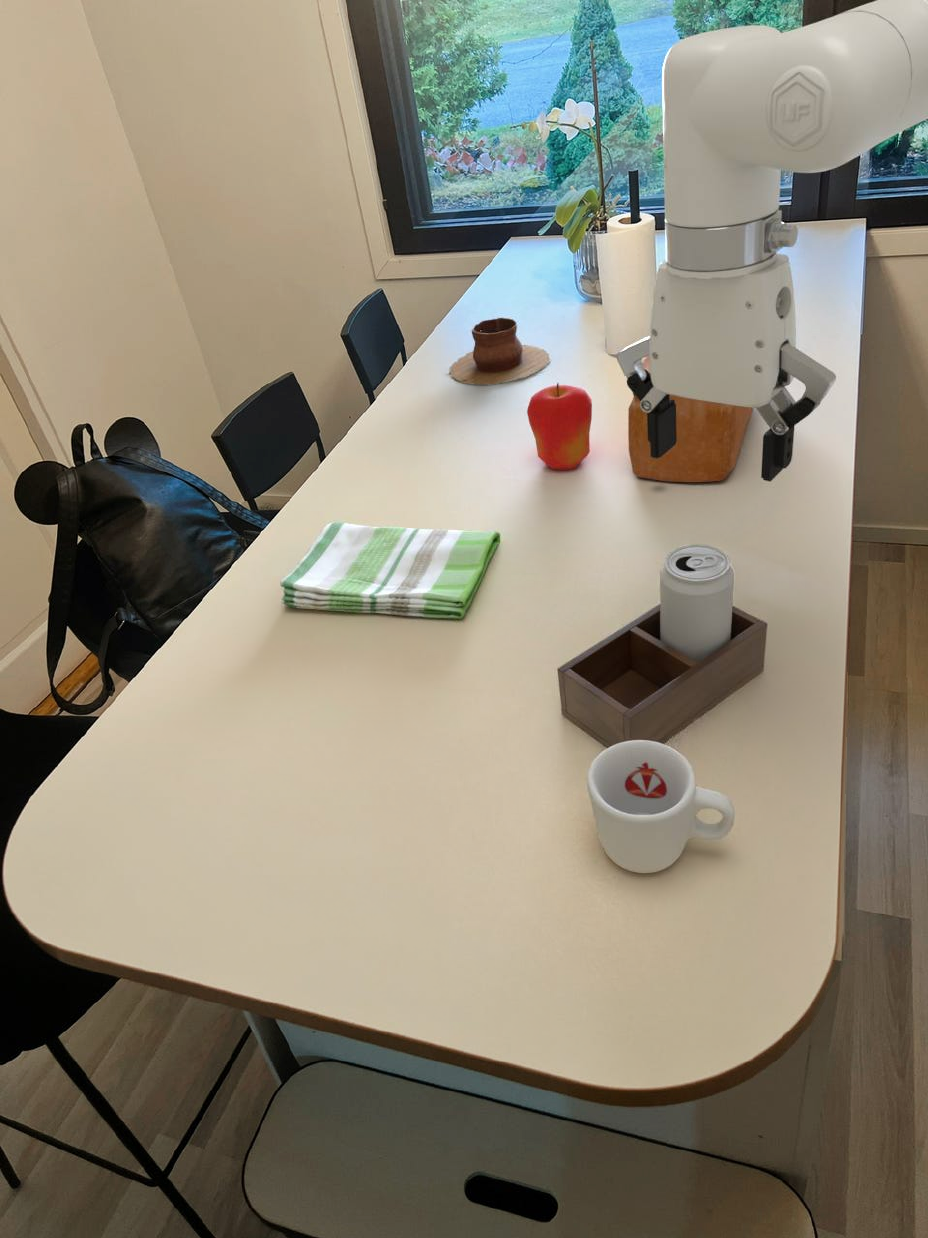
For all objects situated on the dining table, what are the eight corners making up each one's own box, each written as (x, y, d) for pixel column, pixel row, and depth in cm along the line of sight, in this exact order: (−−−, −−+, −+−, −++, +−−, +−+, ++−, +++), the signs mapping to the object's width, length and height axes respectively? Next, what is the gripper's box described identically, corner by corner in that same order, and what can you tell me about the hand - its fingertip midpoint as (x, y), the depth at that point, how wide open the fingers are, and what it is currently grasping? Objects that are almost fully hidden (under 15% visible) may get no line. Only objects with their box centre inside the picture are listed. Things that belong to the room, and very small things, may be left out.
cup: (733, 816, 70) (738, 747, 66) (729, 900, 65) (734, 831, 60) (600, 800, 74) (595, 733, 69) (584, 879, 68) (578, 812, 63)
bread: (759, 399, 129) (766, 291, 119) (731, 487, 110) (737, 368, 101) (665, 396, 134) (665, 293, 124) (624, 480, 115) (619, 366, 106)
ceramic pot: (439, 359, 160) (433, 321, 155) (530, 337, 162) (527, 299, 158) (464, 394, 145) (458, 353, 141) (564, 369, 148) (561, 328, 143)
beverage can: (656, 645, 87) (655, 544, 80) (722, 640, 86) (727, 537, 79) (665, 688, 82) (664, 585, 75) (735, 683, 81) (741, 578, 74)
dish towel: (334, 533, 115) (328, 510, 113) (502, 538, 109) (499, 513, 106) (279, 612, 103) (271, 588, 101) (466, 623, 96) (461, 597, 94)
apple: (603, 450, 123) (599, 370, 116) (581, 479, 117) (576, 397, 110) (547, 445, 127) (540, 367, 120) (523, 473, 121) (514, 392, 114)
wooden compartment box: (763, 670, 83) (767, 623, 80) (631, 766, 76) (630, 719, 73) (689, 629, 90) (690, 583, 86) (561, 714, 83) (556, 668, 79)
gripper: (868, 229, 58) (842, 461, 68) (640, 223, 68) (647, 425, 78) (822, 264, 54) (801, 506, 64) (586, 252, 64) (601, 462, 74)
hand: (716, 461), depth 71 cm, fingers open, 9 cm apart
